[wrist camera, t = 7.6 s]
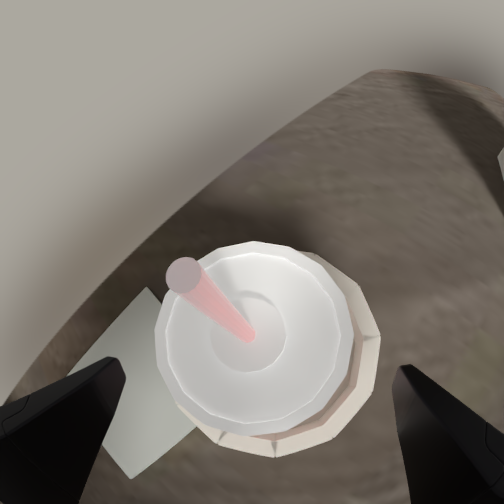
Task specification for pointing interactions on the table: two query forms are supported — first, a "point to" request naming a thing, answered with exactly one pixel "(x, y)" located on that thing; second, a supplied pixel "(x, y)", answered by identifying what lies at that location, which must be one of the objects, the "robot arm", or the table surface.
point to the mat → (138, 389)
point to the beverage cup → (252, 337)
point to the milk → (501, 161)
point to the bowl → (344, 398)
